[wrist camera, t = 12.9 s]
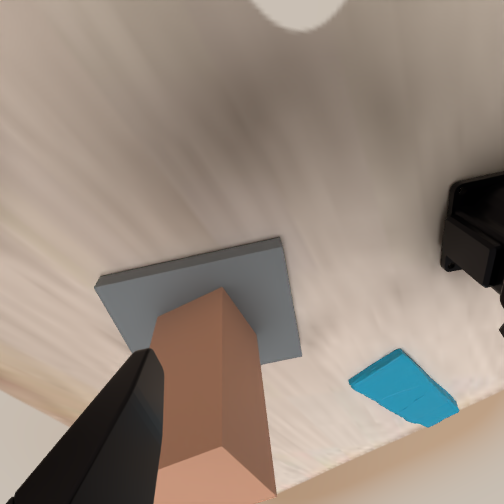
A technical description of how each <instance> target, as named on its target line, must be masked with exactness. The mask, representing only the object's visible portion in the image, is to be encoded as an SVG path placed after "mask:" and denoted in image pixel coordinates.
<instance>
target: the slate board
mask: <svg viewBox="0 0 504 504" xmlns="http://www.w3.org/2000/svg"><path fill="white" fill-rule="evenodd" d="M221 287H223V288H224V290H225V291H226V293H227V294H228V295H229V297H230V298H231V300H232V301H233V302H234V304H235V305H236V307H237V308H238V309H239V311H240V312H241V314H242V315H243V317H244V318H245V319H246V321H247V322H248V324H249V325H250V326H251V328H252V329H253V331H254V332H255V333H256V335H257V341H258V349H259V357H260V365H262V364H267V363H272V362H277V361H282V360H287V359H292V358H297V357H302V352H301V346H300V341H299V335H298V330H297V324H296V318H295V313H294V307H293V302H292V296H291V291H290V285H289V279H288V274H287V268H286V263H285V257H284V252H283V246H282V243H281V240H280V237H279V238H275V239H270V240H265V241H261V242H256V243H252V244H247V245H243V246H238V247H233V248H229V249H224V250H220V251H215V252H211V253H206V254H201V255H197V256H192V257H188V258H183V259H179V260H174V261H169V262H165V263H160V264H156V265H151V266H147V267H142V268H137V269H133V270H128V271H124V272H119V273H115V274H110V275H105V276H101V277H100V278H99V280H98V281H97V283H96V285H95V286H94V289H95V291H96V292H97V294H98V296H99V297H100V299H101V301H102V303H103V304H104V306H105V308H106V309H107V311H108V313H109V315H110V316H111V318H112V320H113V321H114V323H115V325H116V327H117V328H118V330H119V332H120V333H121V335H122V337H123V339H124V340H125V342H126V344H127V345H128V347H129V349H130V351H131V352H132V354H133V353H134V352H135V351H137V350H141V349H145V348H149V347H150V344H151V340H152V336H153V332H154V328H155V324H156V321H157V317H159V316H161V315H163V314H165V313H167V312H169V311H171V310H174V309H176V308H178V307H180V306H182V305H184V304H186V303H189V302H191V301H193V300H195V299H197V298H199V297H201V296H204V295H206V294H208V293H210V292H212V291H214V290H216V289H219V288H221Z"/></svg>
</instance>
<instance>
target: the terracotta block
mask: <svg viewBox="0 0 504 504" xmlns="http://www.w3.org/2000/svg"><path fill="white" fill-rule="evenodd" d="M149 348H151V349H153V351H154V352H155V354H156V356H157V358H158V360H159V362H160V363H161V365H162V367H163V370H164V410H163V435H162V445H161V453H160V460H159V467H158V475H157V482H156V489H155V496H154V504H256V503H259V502H262V501H265V500H268V499H271V498H274V497H277V493H276V485H275V477H274V469H273V461H272V453H271V445H270V437H269V429H268V421H267V413H266V405H265V397H264V389H263V381H262V373H261V365H260V357H259V349H258V341H257V335H256V333H255V332H254V331H253V329H252V328H251V326H250V325H249V324H248V322H247V321H246V319H245V318H244V317H243V315H242V314H241V312H240V311H239V309H238V308H237V307H236V305H235V304H234V302H233V301H232V300H231V298H230V297H229V295H228V294H227V293H226V291H225V290H224V288H223V287H221V288H219V289H216V290H214V291H212V292H210V293H208V294H206V295H204V296H201V297H199V298H197V299H195V300H193V301H191V302H189V303H186V304H184V305H182V306H180V307H178V308H176V309H174V310H171V311H169V312H167V313H165V314H163V315H161V316H159V317H157V321H156V324H155V328H154V332H153V336H152V340H151V344H150V347H149Z"/></svg>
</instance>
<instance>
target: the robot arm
mask: <svg viewBox="0 0 504 504" xmlns="http://www.w3.org/2000/svg"><path fill="white" fill-rule="evenodd" d="M461 188H462V190H461V191H460V192H459V193H458V191H459V190H460V189H461ZM450 263H451V264H450ZM449 264H450V265H449ZM441 267H442V268H443V269H444V270H445V271H447V272H451V271H456V270H461V269H463V270H464V271H465V272H466V273H468V274H469V275H470V276H471V277H472V278H473V279H475V280H476V281H477V282H478V283H479V284H481V285H482V286H483V287H485V288H488V287H491V288H493V289H494V290H495V291H496V292H498V293H499V294H500V302H501V305H502V307H503V308H504V171H503V172H499V173H494V174H490V175H485V176H481V177H476V178H472V179H467V180H463V181H459V182H456V183H455V184H454V185H453V186H452V187H451V190H450V196H449V204H448V212H447V218H446V220H445V228H444V236H443V244H442V259H441ZM499 331H500V332H501V334H502V336H503V337H504V324H503V325H502V326H501V327H500V329H499ZM163 410H164V370H163V367H162V365H161V363H160V362H159V360H158V358H157V356H156V354H155V352H154V351H153V349H151V348H145V349H141V350H137V351H135V352H134V353H133V354H132V355H131V356H130V357H129V358H128V359H127V361H126V362H125V363H124V364H123V365H122V367H121V368H120V369H119V370H118V371H117V372H116V374H115V375H114V376H113V377H112V378H111V380H110V381H109V382H108V383H107V384H106V386H105V387H104V388H103V389H102V390H101V391H100V393H99V394H98V395H97V396H96V397H95V399H94V400H93V401H92V402H91V403H90V405H89V406H88V407H87V408H86V409H85V410H84V412H83V413H82V414H81V415H80V416H79V418H78V419H77V420H76V421H75V422H74V423H73V425H72V426H71V427H70V428H69V430H68V431H67V432H66V433H65V434H64V435H63V437H62V438H61V439H60V440H59V441H58V442H57V444H56V445H55V446H54V447H53V449H52V450H51V451H50V452H49V453H48V454H47V456H46V457H45V458H44V459H43V460H42V461H41V463H40V464H39V465H38V466H37V467H36V469H35V470H34V471H33V472H32V473H31V475H30V476H29V477H28V478H27V479H26V481H25V482H24V483H23V484H22V485H21V487H20V488H19V489H18V490H17V491H16V493H15V496H14V497H11V498H10V499H9V500H8V502H7V503H6V504H154V496H155V489H156V482H157V475H158V467H159V460H160V453H161V445H162V435H163Z"/></svg>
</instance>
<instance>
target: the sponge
mask: <svg viewBox="0 0 504 504" xmlns="http://www.w3.org/2000/svg"><path fill="white" fill-rule="evenodd" d="M349 384H350V385H351V388H353V389H354V390H355V391H357V392H359V393H361V394H364V395H365V396H366V397H368V398H370V399H372V400H374V401H376V402H377V403H379V404H380V405H381V406H383V407H385V408H386V409H388V410H390V411H392V412H394V413H395V414H397V415H399V416H400V417H403V418H404V419H405V420H406V421H408V422H411V423H415V424H416V423H417V424H421V425H423V426H426V427H430V426H433V425H435V424H437V423H438V422H440V421H442V420H443V419H445V418H448V417H450V416H451V415H453V414H456V413H458V411H459V409H458V407H457V403H456V401H455V400H454V399H453V397H452V396H451V395H450V394H449V393H448V392H447V391H446V390H445V389H443V388H442V387H441V386H440V385H439V384H437V383H436V382H435V381H434V380H433V379H431V378H430V377H429V376H428V375H427V374H426V373H425V372H424V371H423V370H422V369H421V368H420V366H418V365H417V364H416V363H415V362H414V361H413V360H412V359H411V358H410V357H408V355H406V354H405V353H404V352H403V351H402V350H401V349H397V350H395V351H393V352H391V353H389V354H388V355H386V356H385V357H383V358H382V359H380V360H378V361H377V362H375V363H373V364H372V365H370V366H369V367H367V368H366V369H364V370H363V371H362V372H360V373H359V374H357V375H356V376H354V377H353V378H351V379H349Z"/></svg>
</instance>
